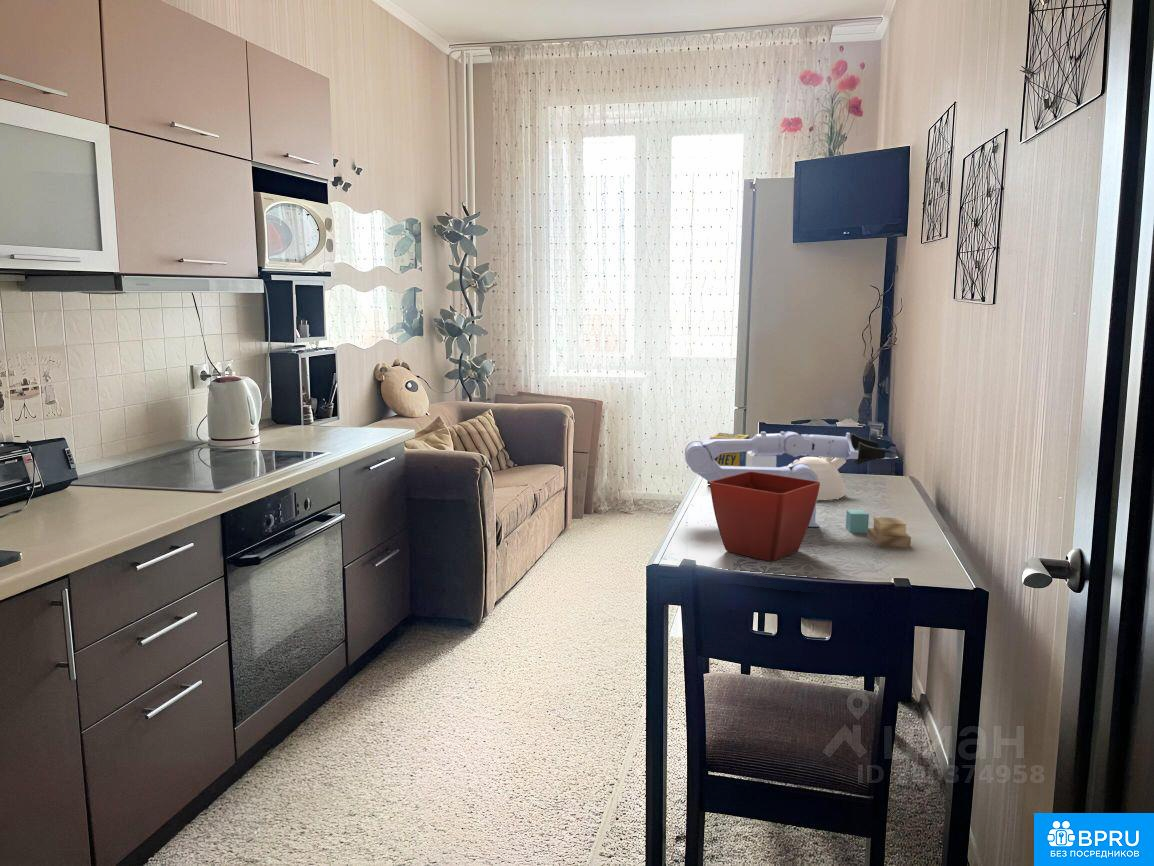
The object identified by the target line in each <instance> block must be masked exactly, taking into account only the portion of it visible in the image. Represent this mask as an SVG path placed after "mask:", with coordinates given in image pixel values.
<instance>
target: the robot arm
mask: <svg viewBox="0 0 1154 866" xmlns="http://www.w3.org/2000/svg"><path fill="white" fill-rule="evenodd" d="M879 445H880V443H879V442H877V441H875V440H871V439H867V438H865V437H864V438H863V437H861V436H858V435H857V434H855V433H853V432H852V433H851V432H846V433H845V436H840V435H839V436H837V435H824V434H806V433H804V434H802V433H801V434H799V433H798V432H795V431H790V430H789V431H783V430H782V431H780V432H779V433H778V432H777V433H776V432H775V433H767V432H766V431H760V433H756V434H754V436H753V437H752V438H749V439H710V438H707V439H702V440H701V441H700V440H692V441H690V442H689V443H688V444H687V445H686V447H685V450H684V457H685V458H684V459H685V462H686V464H687V466H688V467H689V468H690V470H691V471H692V472H693V473H695V474H697V475H699V476H700V477H701V478H702V479H704V480H706V481H709V482H710V481H713V480H717V479H721V478H725V477H729V476H733V475H737V474H741V473H745V472H759V473H765V474H772V475H778V476H785V477H791V478H798V479H804V480H810V481H817V482H818V477H817V475H816V473H815V472H814V471H812V469H811V468H810V466H808V465H807V464H804V463H798V464H795V465H793V466H788V465H784V466H779V467H778V466H776V467H744V466H720V465H719V464H718V463H717V462H716V461H715V460H714V459H715V458H716V457H717V456H719V455H720V454H721V453H729V452H744V451H753V452H754V453H755V454H756V455H757V456H761V455H776V456H782V455H783V454H787V455H789V456H792V457H793V458H798V457H800V456H801V455H803V456H808V457H819V458H825V457H831V459H834V458H844V459H845V460H850V459H851V460H854V463H855V464H856V465H862V464H863V463H866V462H869V461H875V460H882V459H885V458H886V450H885V449H883V448H879ZM711 456H712V457H711ZM816 512H817V502H816V503H815V507H814V510H813V514H812V517H811V520H810V523H809V525H808V528H819V527H820V524H819V523H818V522H817V520H816V518H817V513H816Z"/></svg>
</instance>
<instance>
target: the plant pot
mask: <svg viewBox="0 0 1154 866" xmlns="http://www.w3.org/2000/svg"><path fill="white" fill-rule="evenodd" d="M819 487H820V482H817V481H810V480H804V479H798V478H791V477H785V476H778V475H772V474H765V473H759V472H745V473H741V474H737V475H733V476H729V477H725V478H721V479H717V480H713V481H710V486H709V488H710V495H711V500H712V501H711V502H712V507H713V508H712V509H713V512H714V517H715V520H716V524H717V528H718V533H719V536H720V538H721V541H722V544H723V547H724V549H725V551H726V552H729V553H734V554H738V555H742V556H747V557H749V558H754V559H758V560H759V559H760V560H763V561H767V562H775V561H777V560H780V559H782V558H784V557H787V556H789V555H790V556H791V555H792V554H794V553H796V552H798V551H799V549H800V547H801V545H802V543H803V540H804V538H805V536H806V533H807V530H808V528H809V527H808V525H809V523H810V520H811V517H812V514H813V510H814V507H815V503H816V504H817V501H816V500H817V496H818V492H819Z"/></svg>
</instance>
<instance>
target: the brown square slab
mask: <svg viewBox="0 0 1154 866" xmlns="http://www.w3.org/2000/svg"><path fill="white" fill-rule="evenodd" d="M867 539H868V540H869V541H870V542H871V543H872V544H873V545H874V546H875V547H879V548H880V547H881V548H884V547H885V548H889V547H890V548H911V543H912V541H911V540H912V536H910V535H909V534H908V533H906V535H905V536H889V535H879V534H878V533H877V532H876V531H875V530H874V527H868V533H867Z"/></svg>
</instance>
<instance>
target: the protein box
mask: <svg viewBox="0 0 1154 866" xmlns="http://www.w3.org/2000/svg"><path fill="white" fill-rule="evenodd" d="M709 439H750V435H748V434H739V433H738V434H737V433H726V432H724V433H723V432H719V433H717V434H715V435H713V436H711V437H710V438H709ZM747 452H748V451H744V452H729V453H721V454H720V455H719V456H717V457H716V458H715V459H714V460H715V461H716V462H717V463H718V464H719V465H720V466H744V467H746V456H747ZM711 457H712V456H711ZM706 481H707V480H706ZM707 484H710V482H709V481H707V483H706V485H707Z"/></svg>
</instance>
